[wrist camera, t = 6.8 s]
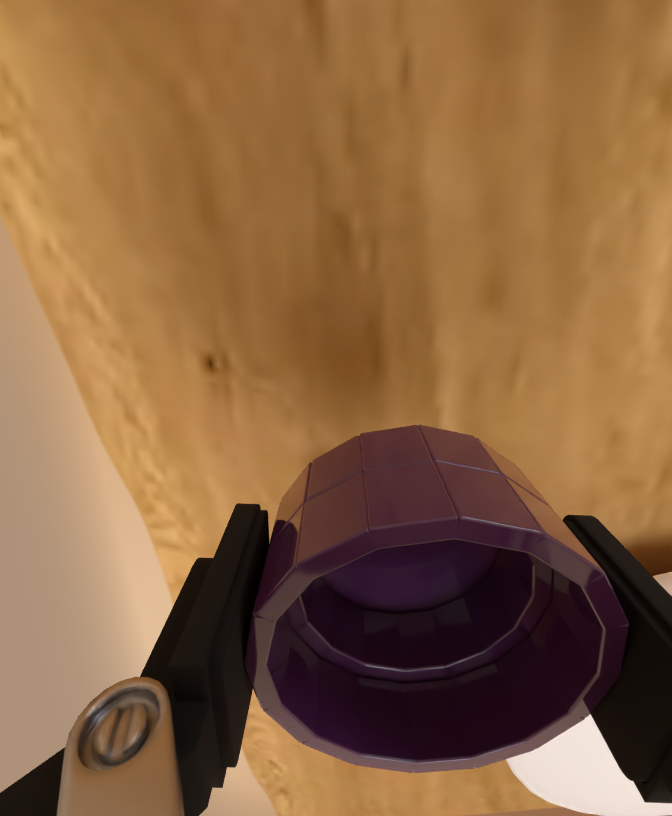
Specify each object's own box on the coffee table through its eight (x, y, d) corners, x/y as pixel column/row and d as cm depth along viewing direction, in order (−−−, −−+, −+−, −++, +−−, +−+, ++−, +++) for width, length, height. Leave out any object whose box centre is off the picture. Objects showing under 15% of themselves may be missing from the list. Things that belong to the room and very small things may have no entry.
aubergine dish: (249, 440, 9) (194, 552, 6) (530, 396, 9) (654, 491, 5) (306, 629, 12) (291, 784, 8) (526, 604, 11) (607, 758, 8)
